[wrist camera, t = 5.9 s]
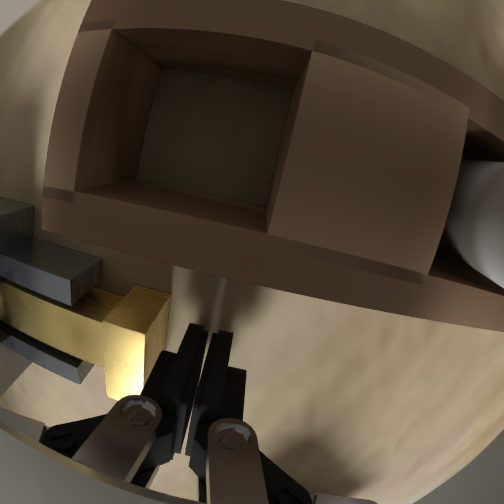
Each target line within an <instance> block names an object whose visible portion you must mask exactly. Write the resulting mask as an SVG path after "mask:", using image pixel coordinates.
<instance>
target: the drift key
mask: <svg viewBox="0 0 504 504" xmlns="http://www.w3.org/2000/svg"><path fill="white" fill-rule="evenodd" d="M170 298H171V294H169V293H165V292H161V291H157V290H154V289H150V288H147V287H143V286H139V285H135V286H134V287H133V288H132V289H131V291H130V292H129V293H128V294H127V295H126V296H125V297H124V296H121V295H117V294H114V293H111V292H108V291H105V290H101V289H98V288H95V287H93V288H92V289H90V290H89V291H88V292H87V293H86V294H84V295H83V296H82V297H81V298H80V299H79V300H77V301H76V302H75V303H74V304H73V305H72V306H70V305H68V304H65V303H62V302H60V301H57V300H55V299H52V298H50V297H47V296H45V295H43V294H40V293H38V292H35V291H33V290H31V289H28V288H26V287H24V286H22V285H19V284H17V283H15V282H13V281H10V280H8V279H6V278H4V277H2V276H0V320H2V321H3V322H5V323H7V324H9V325H11V326H12V327H14V328H16V329H18V330H20V331H22V332H24V333H26V334H28V335H30V336H31V337H33V338H35V339H38V340H40V341H42V342H44V343H46V344H48V345H50V346H52V347H54V348H57V349H59V350H61V351H63V352H66V353H68V354H70V355H72V356H75V357H77V358H80V359H82V360H84V361H87V362H89V363H92V364H95V365H97V366H100V367H102V368H105V379H106V389H107V397H110V398H113V399H116V400H118V401H119V400H120V399H121V398H123V397H125V396H127V395H134V394H135V395H140V393H141V391H142V389H143V387H144V385H145V383H146V381H147V379H148V377H149V375H150V373H151V371H152V369H153V367H154V365H155V362H156V360H157V358H158V356H159V354H160V352H161V351H162V350H165V341H166V332H167V323H168V314H169V306H170Z"/></svg>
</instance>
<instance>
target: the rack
mask: <svg viewBox="0 0 504 504" xmlns="http://www.w3.org/2000/svg"><path fill="white" fill-rule="evenodd" d="M161 69H170V70H180V71H190V72H198V73H206V74H213V75H220V76H226V77H232V78H237V79H243V80H248V81H253V82H258V83H263V84H267V85H272V86H276V87H281V88H285V89H289V90H293V91H294V92H293V97H292V101H291V105H290V109H289V113H288V117H287V121H286V125H285V129H284V133H283V137H282V141H281V146H280V150H279V154H278V158H277V162H276V166H275V170H274V174H273V178H272V182H271V186H270V190H269V194H268V198H267V202H266V206H260V205H256V204H252V203H248V202H243V201H239V200H235V199H230V198H226V197H221V196H217V195H212V194H208V193H203V192H198V191H194V190H189V189H184V188H179V187H174V186H169V185H164V184H159V183H154V182H149V181H144V180H138V179H136V174H137V168H138V163H139V157H140V152H141V147H142V142H143V138H144V133H145V128H146V124H147V120H148V115H149V111H150V107H151V103H152V99H153V95H154V92H155V88H156V84H157V81H158V77H159V74H160V70H161ZM462 157H464V158H466V159H461V158H462ZM41 229H42V230H45V231H49V232H52V233H56V234H59V235H63V236H66V237H70V238H73V239H77V240H80V241H84V242H88V243H91V244H95V245H99V246H102V247H106V248H110V249H113V250H117V251H121V252H125V253H128V254H132V255H136V256H140V257H144V258H148V259H152V260H155V261H159V262H163V263H167V264H171V265H175V266H179V267H183V268H187V269H191V270H196V271H200V272H204V273H208V274H212V275H216V276H220V277H225V278H229V279H233V280H238V281H242V282H246V283H251V284H255V285H259V286H264V287H268V288H273V289H277V290H282V291H286V292H291V293H296V294H300V295H305V296H310V297H314V298H319V299H324V300H329V301H333V302H338V303H343V304H348V305H353V306H358V307H363V308H368V309H374V310H379V311H384V312H389V313H394V314H400V315H405V316H411V317H416V318H422V319H427V320H433V321H439V322H445V323H451V324H457V325H463V326H469V327H475V328H481V329H488V330H494V331H501V332H504V101H502V100H501V99H500V98H498V97H497V96H496V95H494V94H493V93H492V92H490V91H489V90H488V89H486V88H485V87H483V86H482V85H480V84H479V83H478V82H476V81H475V80H473V79H472V78H470V77H468V76H467V75H465V74H464V73H462V72H461V71H459V70H457V69H456V68H454V67H452V66H451V65H449V64H447V63H446V62H444V61H442V60H440V59H439V58H437V57H435V56H433V55H431V54H429V53H428V52H426V51H424V50H422V49H420V48H418V47H416V46H414V45H412V44H410V43H408V42H405V41H403V40H401V39H399V38H397V37H395V36H392V35H390V34H388V33H385V32H383V31H380V30H378V29H375V28H373V27H370V26H368V25H365V24H362V23H360V22H357V21H354V20H351V19H348V18H345V17H342V16H339V15H336V14H333V13H329V12H326V11H323V10H319V9H315V8H312V7H308V6H304V5H300V4H295V3H291V2H286V1H281V0H91V3H90V5H89V7H88V9H87V12H86V14H85V16H84V19H83V21H82V24H81V26H80V29H79V31H78V34H77V37H76V40H75V42H74V45H73V48H72V51H71V54H70V57H69V60H68V63H67V67H66V70H65V73H64V77H63V80H62V84H61V88H60V92H59V96H58V100H57V104H56V108H55V113H54V118H53V123H52V128H51V133H50V139H49V145H48V152H47V159H46V167H45V176H44V186H43V199H42V217H41ZM437 248H440V249H442V250H443V251H445V252H447V253H449V254H450V255H452V256H454V257H455V258H457V259H459V260H460V261H462V262H464V263H461V262H458V261H455V260H452V259H449V258H446V257H443V256H440V255H437V254H435V253H436V251H437Z"/></svg>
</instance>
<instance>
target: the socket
mask: <svg viewBox="0 0 504 504" xmlns="http://www.w3.org/2000/svg"><path fill="white" fill-rule="evenodd" d="M33 215H34V206H33V205H29V204H25V203H21V202H17V201H13V200H9V199H5V198H0V276H2V277H4V278H6V279H8V280H10V281H13V282H15V283H17V284H19V285H22V286H24V287H26V288H28V289H31V290H33V291H35V292H38V293H40V294H43V295H45V296H47V297H50V298H52V299H55V300H57V301H60V302H62V303H65V304H68V305H70V306H72V305H73V304H74V303H75V302H76V301H77V300H79V299H80V298H81V297H82V296H83V295H84V294H86V293H87V292H88V291H89V290H90V289H92V288H93V287H94V286H95V285H96V284H98V283H99V282H100V281H101V262H102V259H101V258H98V257H94V256H91V255H87V254H84V253H81V252H77V251H74V250H71V249H67V248H64V247H61V246H57V245H54V244H51V243H48V242H45V241H41V240H38V239H35V238H33ZM32 362H34V363H36V364H38V365H40V366H42V367H43V368H45V369H47V370H49V371H52V372H54V373H56V374H58V375H60V376H62V377H64V378H66V379H68V380H71V381H73V382H75V383H77V384H81V383H82V381H83V380H84V378H85V377H86V376H87V374H88V373H89V371H90V370H91V369H92V367H93V366H94V365H95V364H92V363H89V362H87V361H84V360H82V359H80V358H77V357H75V356H72V355H70V354H68V353H66V352H63V351H61V350H59V349H57V348H54V347H52V346H50V345H48V344H46V343H44V342H42V341H40V340H38V339H35V338H33V337H31V336H30V335H28V334H26V333H24V332H22V331H20V330H18V329H16V328H14V327H12V326H11V325H9V324H7V323H5V322H3V321H2V320H0V397H1V396H2V395H3V394H4V392H5V391H6V390H7V389H8V388H9V387H10V386H11V385H12V384H13V382H14V381H15V380H16V379H17V378H18V377H19V376H20V375H21V374H22V373H23V372H24V371H25V369H26V368H27V367H28V366H29V365H30V364H31V363H32Z"/></svg>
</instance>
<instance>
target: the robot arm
mask: <svg viewBox="0 0 504 504" xmlns="http://www.w3.org/2000/svg"><path fill="white" fill-rule="evenodd" d="M208 332H209V331H206V330H204V326H201V325H197V324H193V323H190V324H189V326H188V328H187V331H186V333H185V335H184V338H183V340H182V343H181V345H180V347H179V350H178V352H177V354H176V353H172V352H169V351H165V350H162V351H161V352H160V354H159V356H158V358H157V360H156V362H155V365H154V367H153V369H152V371H151V373H150V375H149V377H148V379H147V381H146V383H145V385H144V387H143V389H142V391H141V393H140V395H135V394H134V395H127V396H125V397H123V398H121V399H120V400H119V401H118V402H117V403H116V404H115V405H114V406H113V408H112V409H111V410H110V411H109V413H108V414H105V415H101V416H97V417H93V418H88V419H84V420H79V421H74V422H70V423H65V424H60V425H55V426H53V427H48V426H46V425H45V423H43V422H40V421H37V420H34V419H31V418H28V417H25V416H22V415H19V414H16V413H14V412H11V411H8V410H6V409H3V408H0V504H377V503H376V502H374V501H371V500H365V499H357V498H349V497H343V496H336V495H330V494H325V493H320V492H317V494H312V493H309V492H308V491H307V490H306V489H305V488H304V487H302V486H301V485H300V484H299V483H297V482H296V481H295V480H294V479H292V478H291V477H290V476H289V475H287V474H286V473H285V472H284V471H283V470H281V469H280V468H279V467H278V466H277V465H276V464H274V463H273V462H272V461H271V460H270V459H269V458H267V457H266V456H265V455H264V454H263V453H262V452H261V451H260V450H259V446H258V440H257V436H256V433H255V431H254V430H253V428H252V427H251V426H250V425H248V424H247V423H246V422H243V410H244V397H245V384H246V370H244V369H239V368H234V367H229V366H228V363H229V356H230V350H231V344H232V338H233V333H230V332H226V331H222V330H219V333H214V332H213V334H212V338H211V341H210V345H209V348H208V352H207V356H206V359H205V363H204V367H203V370H202V374H201V368H202V363H203V358H204V353H205V348H206V343H207V338H208ZM200 374H201V378H200ZM199 379H200V381H199ZM198 384H199V385H198ZM197 388H198V389H197ZM196 392H197V393H196ZM193 403H194V405H193ZM192 407H193V410H192ZM191 411H192V416H191V422H190V427H189V433H188V439H187V445H186V452H185V455H187V456H191V457H190V462H189V467H190V468H191V469H192V470H193V472H194V473H195V474H196V475H197V501H193V500H188V499H184V498H179V497H175V496H171V495H167V494H164V493H160V492H156V491H153V490H150V489H149V487H150V485H151V483H152V481H153V479H154V478H155V476H156V474H157V472H158V470H159V467H160V465H162V464H164V463H167V462H169V461H170V459H171V460H173V456H174V453H179V454H180V453H181V449H182V445H183V441H184V438H185V434H186V430H187V426H188V422H189V419H190V415H191Z"/></svg>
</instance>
